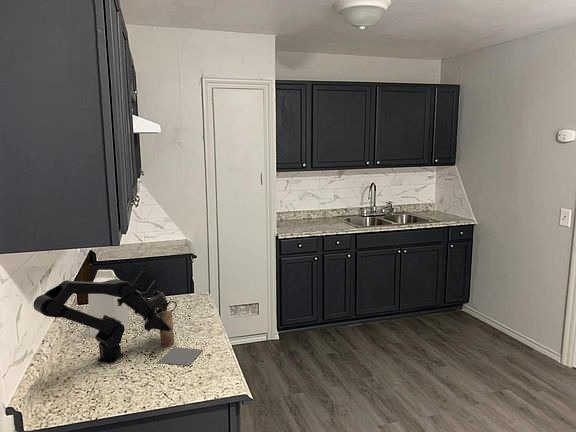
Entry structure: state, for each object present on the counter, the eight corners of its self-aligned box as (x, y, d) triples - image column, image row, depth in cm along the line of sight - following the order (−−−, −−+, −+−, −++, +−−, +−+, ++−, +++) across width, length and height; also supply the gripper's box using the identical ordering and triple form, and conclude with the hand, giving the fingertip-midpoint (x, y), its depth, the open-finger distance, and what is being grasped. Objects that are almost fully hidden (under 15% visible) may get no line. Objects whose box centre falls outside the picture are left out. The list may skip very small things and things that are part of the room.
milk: (130, 325, 193) (125, 266, 189) (118, 336, 182) (112, 274, 178) (103, 324, 194) (98, 266, 190) (89, 336, 183) (83, 274, 179)
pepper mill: (158, 346, 172) (155, 315, 170) (164, 340, 177) (162, 310, 175) (170, 347, 171) (168, 316, 169) (176, 341, 176) (174, 311, 174)
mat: (157, 362, 159) (157, 362, 159) (173, 347, 171) (173, 347, 171) (189, 366, 156) (189, 365, 156) (203, 350, 168) (203, 349, 168)
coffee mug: (144, 324, 193) (142, 302, 191) (155, 317, 201) (153, 295, 200) (169, 326, 190) (167, 304, 189) (178, 319, 198) (177, 297, 197)
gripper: (151, 295, 160) (185, 320, 165) (153, 280, 178) (183, 303, 183) (130, 318, 160) (164, 343, 164) (133, 301, 177) (164, 324, 182)
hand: (170, 327), depth 173 cm, fingers closed on pepper mill, 5 cm apart
